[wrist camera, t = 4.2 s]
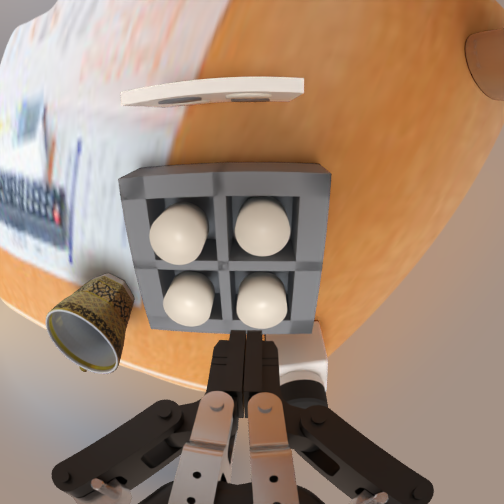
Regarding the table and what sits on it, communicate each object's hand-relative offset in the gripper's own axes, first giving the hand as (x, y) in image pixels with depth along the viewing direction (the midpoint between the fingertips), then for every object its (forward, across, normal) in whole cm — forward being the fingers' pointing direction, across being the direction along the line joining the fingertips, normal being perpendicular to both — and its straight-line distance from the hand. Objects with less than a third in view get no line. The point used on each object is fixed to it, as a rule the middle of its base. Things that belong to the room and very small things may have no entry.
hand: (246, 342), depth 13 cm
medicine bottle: (+17, -5, +18) cm, 25 cm away
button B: (+13, -1, +6) cm, 15 cm away
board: (+17, +3, +3) cm, 18 cm away
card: (+17, +3, -12) cm, 21 cm away
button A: (+15, -1, -1) cm, 15 cm away
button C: (+13, +6, -1) cm, 15 cm away
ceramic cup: (+18, +20, +12) cm, 29 cm away
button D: (+13, +6, +6) cm, 16 cm away
